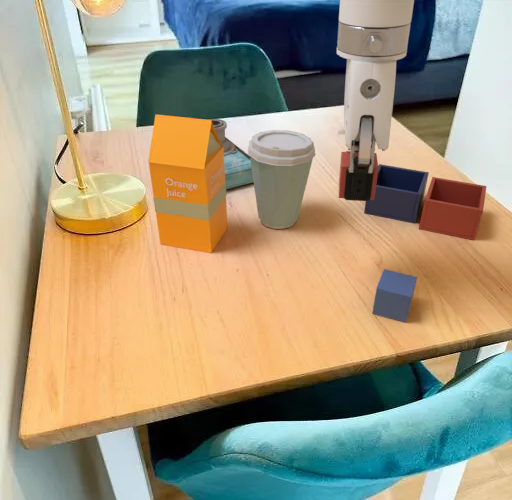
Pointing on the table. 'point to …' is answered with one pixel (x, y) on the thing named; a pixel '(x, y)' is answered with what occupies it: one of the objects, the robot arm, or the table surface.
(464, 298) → the table surface
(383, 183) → the blue bin
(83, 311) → the table surface
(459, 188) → the red bin
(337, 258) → the table surface
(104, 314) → the table surface
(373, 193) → the red block
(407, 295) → the blue block
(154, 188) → the orange juice
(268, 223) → the disposable coffee cup
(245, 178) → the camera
